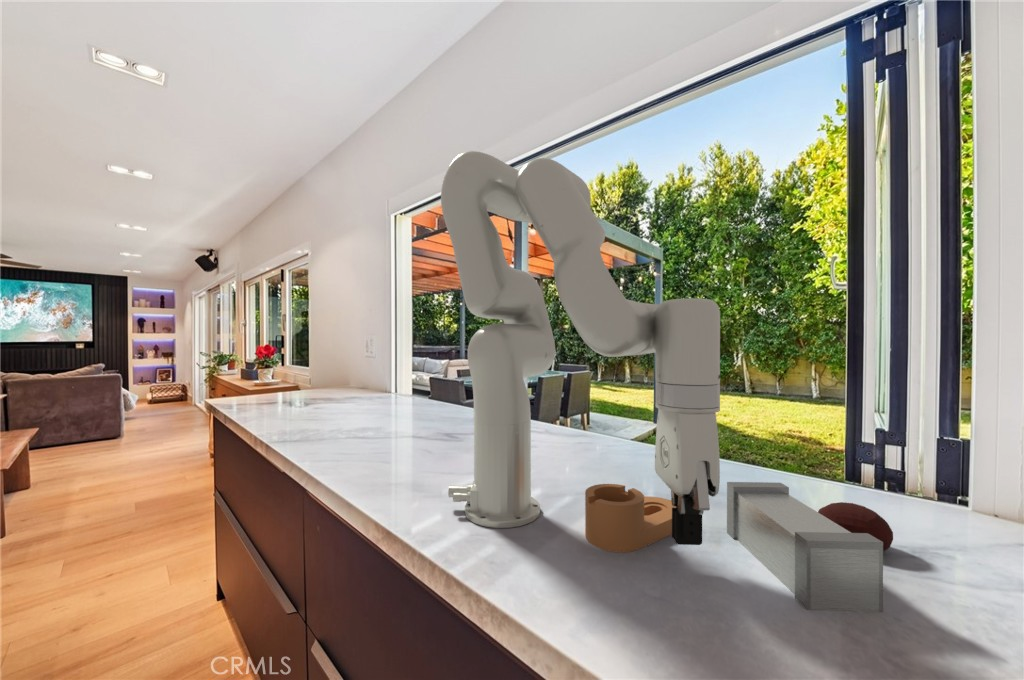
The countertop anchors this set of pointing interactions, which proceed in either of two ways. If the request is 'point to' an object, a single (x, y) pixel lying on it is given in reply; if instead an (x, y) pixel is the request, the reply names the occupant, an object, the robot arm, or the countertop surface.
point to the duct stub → (806, 549)
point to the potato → (859, 521)
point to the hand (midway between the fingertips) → (686, 541)
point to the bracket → (625, 518)
